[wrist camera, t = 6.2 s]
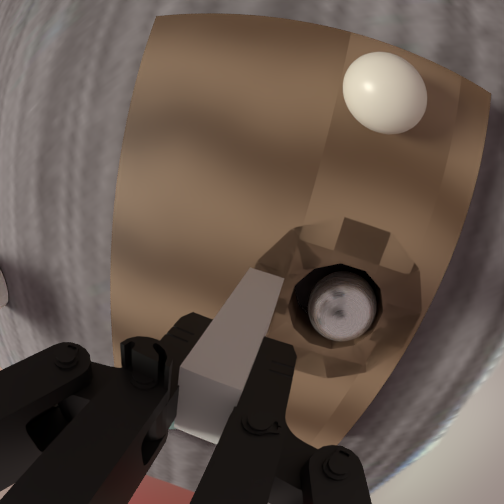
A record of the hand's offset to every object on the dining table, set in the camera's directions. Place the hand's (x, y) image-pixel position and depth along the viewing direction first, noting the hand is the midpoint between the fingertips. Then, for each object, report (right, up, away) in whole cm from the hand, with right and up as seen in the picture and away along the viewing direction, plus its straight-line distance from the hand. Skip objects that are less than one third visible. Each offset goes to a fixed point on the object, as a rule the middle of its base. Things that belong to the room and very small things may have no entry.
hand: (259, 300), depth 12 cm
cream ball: (+4, +8, -4) cm, 10 cm away
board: (0, +1, +4) cm, 4 cm away
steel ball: (+4, -1, +1) cm, 4 cm away
